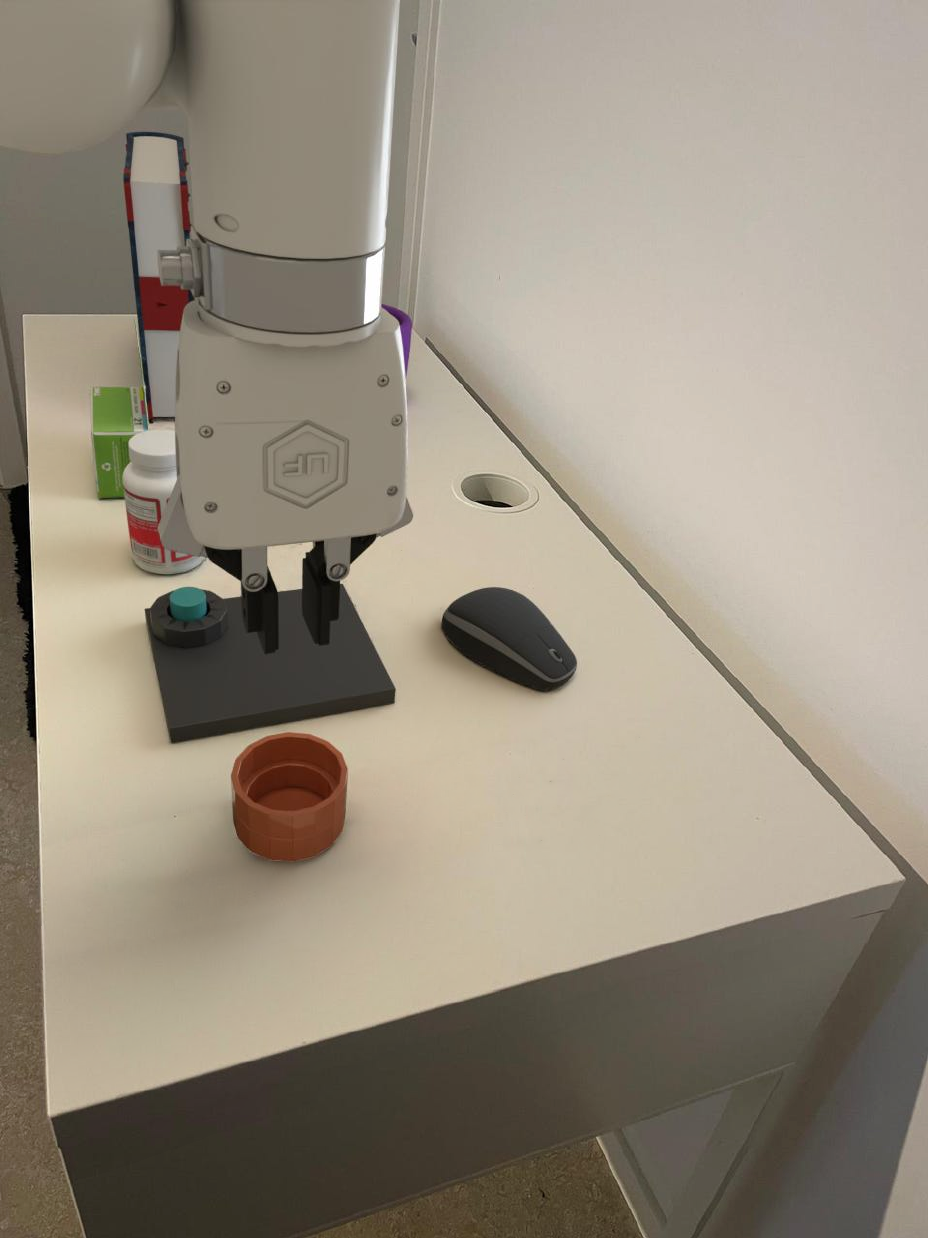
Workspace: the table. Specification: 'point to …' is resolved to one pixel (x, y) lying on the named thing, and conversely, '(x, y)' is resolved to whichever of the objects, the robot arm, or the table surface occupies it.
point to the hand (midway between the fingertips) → (290, 631)
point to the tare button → (188, 604)
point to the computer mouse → (509, 637)
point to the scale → (260, 668)
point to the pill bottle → (152, 501)
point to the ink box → (115, 431)
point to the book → (156, 226)
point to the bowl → (289, 796)
